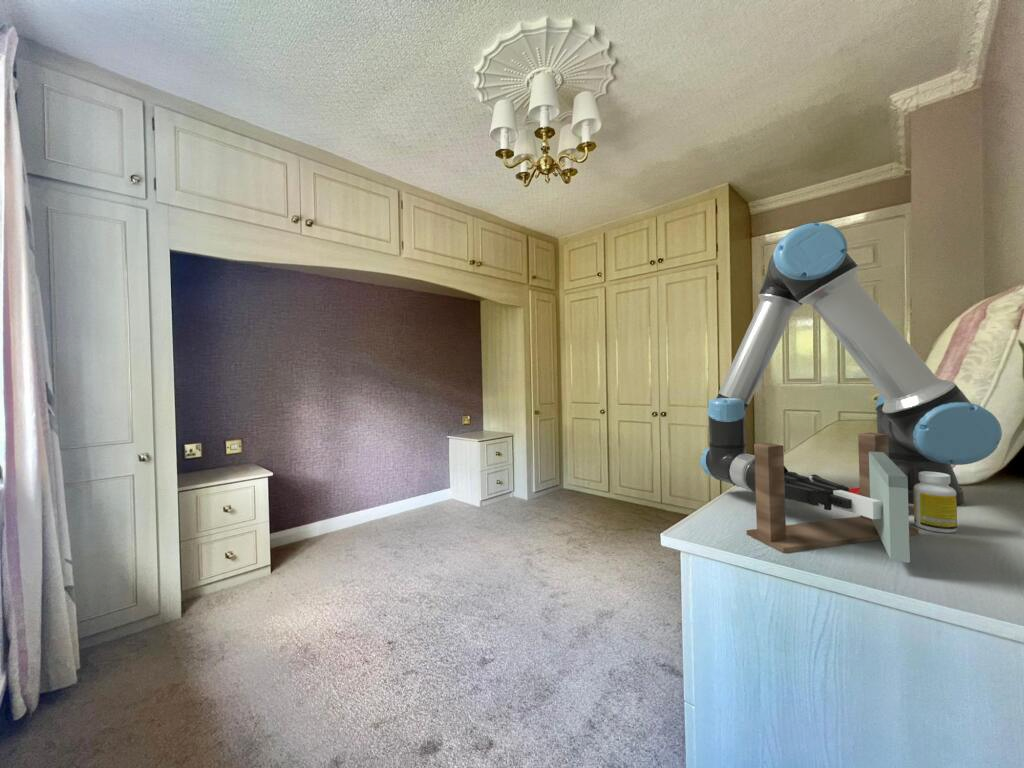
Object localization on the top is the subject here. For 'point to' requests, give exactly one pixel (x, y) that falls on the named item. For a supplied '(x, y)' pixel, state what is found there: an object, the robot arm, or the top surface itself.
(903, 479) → the gate
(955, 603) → the top surface
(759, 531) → the gate frame
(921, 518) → the supplement bottle
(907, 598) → the top surface
